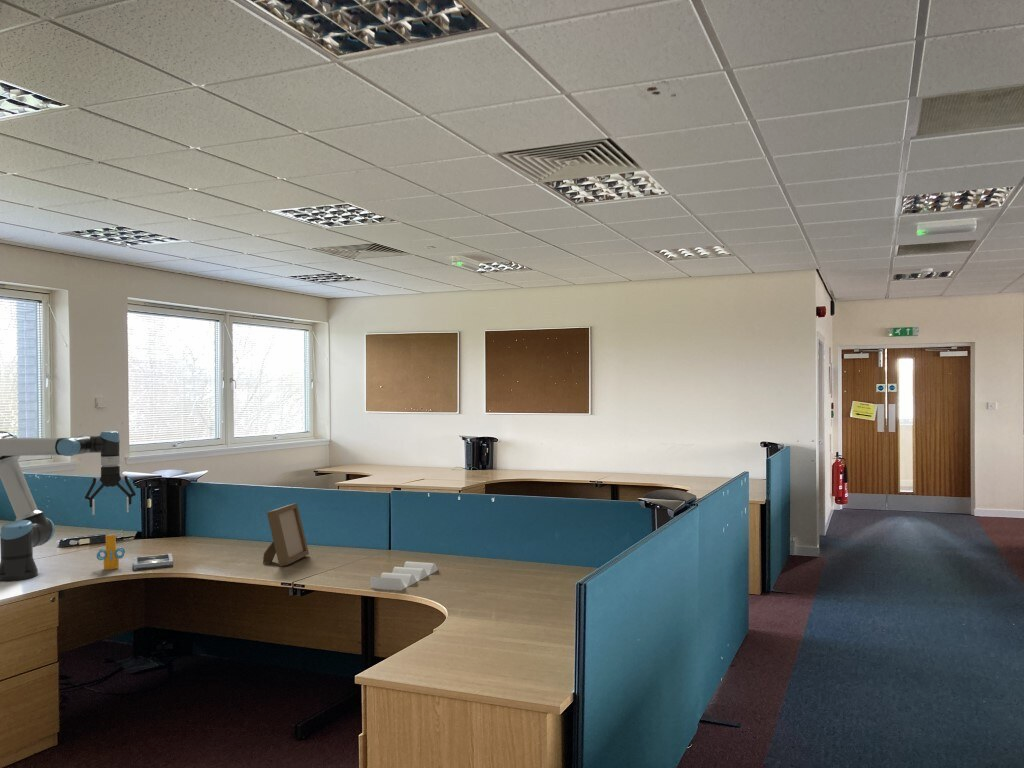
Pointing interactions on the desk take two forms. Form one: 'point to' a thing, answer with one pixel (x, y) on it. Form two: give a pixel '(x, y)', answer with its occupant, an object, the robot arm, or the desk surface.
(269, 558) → the photo frame
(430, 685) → the desk surface
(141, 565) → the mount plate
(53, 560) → the desk surface
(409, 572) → the white zigzag rack
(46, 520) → the robot arm
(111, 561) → the orange block with rings
